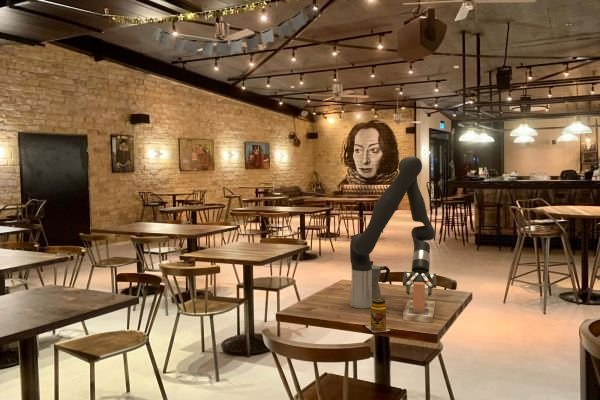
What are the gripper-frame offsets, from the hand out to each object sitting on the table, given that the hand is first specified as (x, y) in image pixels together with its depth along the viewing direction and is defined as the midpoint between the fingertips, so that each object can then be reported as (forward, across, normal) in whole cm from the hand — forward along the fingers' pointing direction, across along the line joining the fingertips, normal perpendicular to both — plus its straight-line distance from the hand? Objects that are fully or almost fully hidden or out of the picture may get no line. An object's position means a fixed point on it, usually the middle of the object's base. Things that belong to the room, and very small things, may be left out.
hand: (418, 294), depth 218 cm
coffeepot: (-13, -24, +27) cm, 38 cm away
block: (+4, 0, +6) cm, 7 cm away
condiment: (+21, -14, -6) cm, 26 cm away
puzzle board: (+2, 0, +12) cm, 13 cm away
